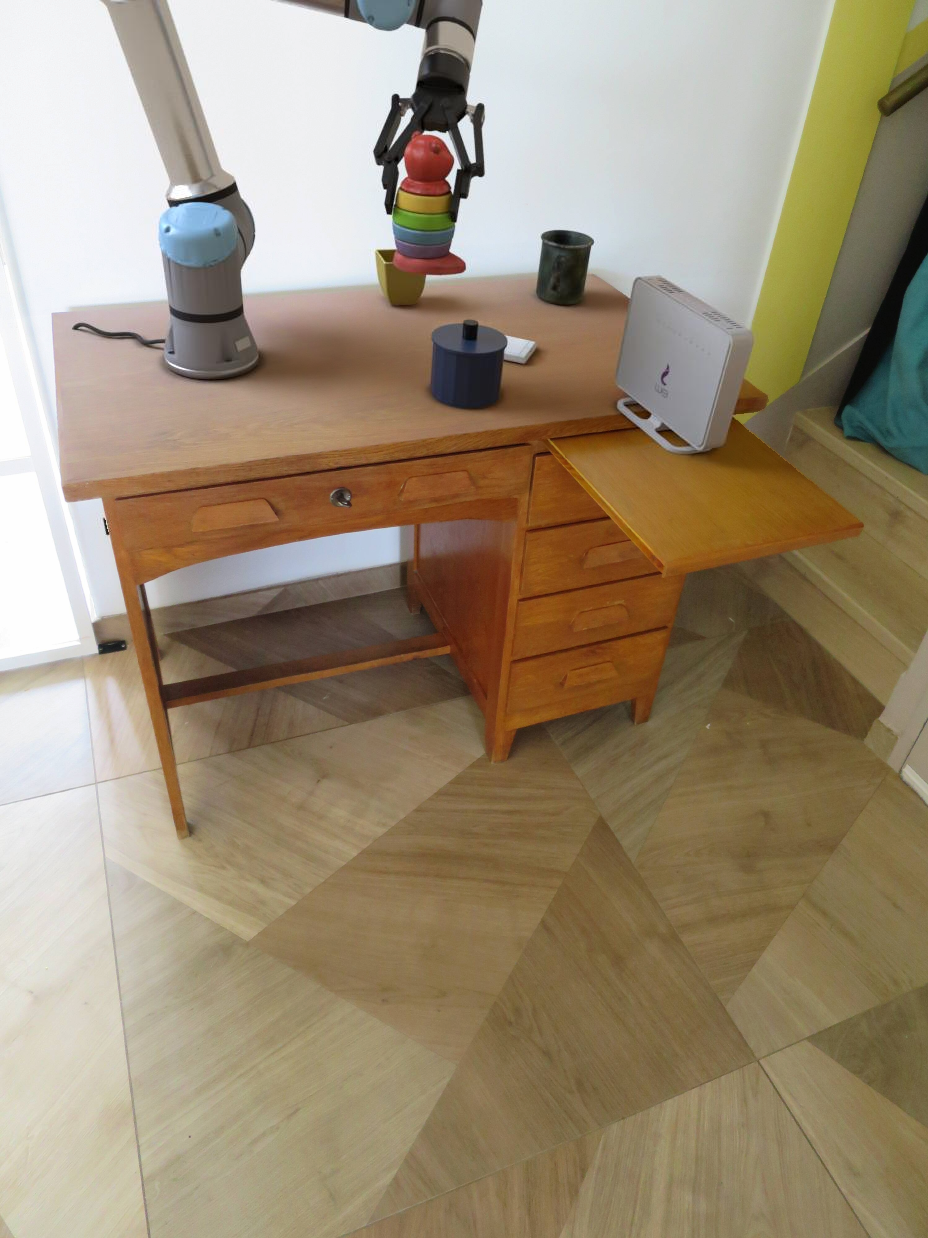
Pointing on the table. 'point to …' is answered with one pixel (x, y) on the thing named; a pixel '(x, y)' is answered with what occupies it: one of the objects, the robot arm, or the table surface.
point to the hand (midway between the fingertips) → (420, 212)
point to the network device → (681, 364)
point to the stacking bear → (425, 210)
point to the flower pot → (397, 280)
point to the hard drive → (518, 349)
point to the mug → (563, 266)
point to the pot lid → (469, 339)
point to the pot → (466, 378)
